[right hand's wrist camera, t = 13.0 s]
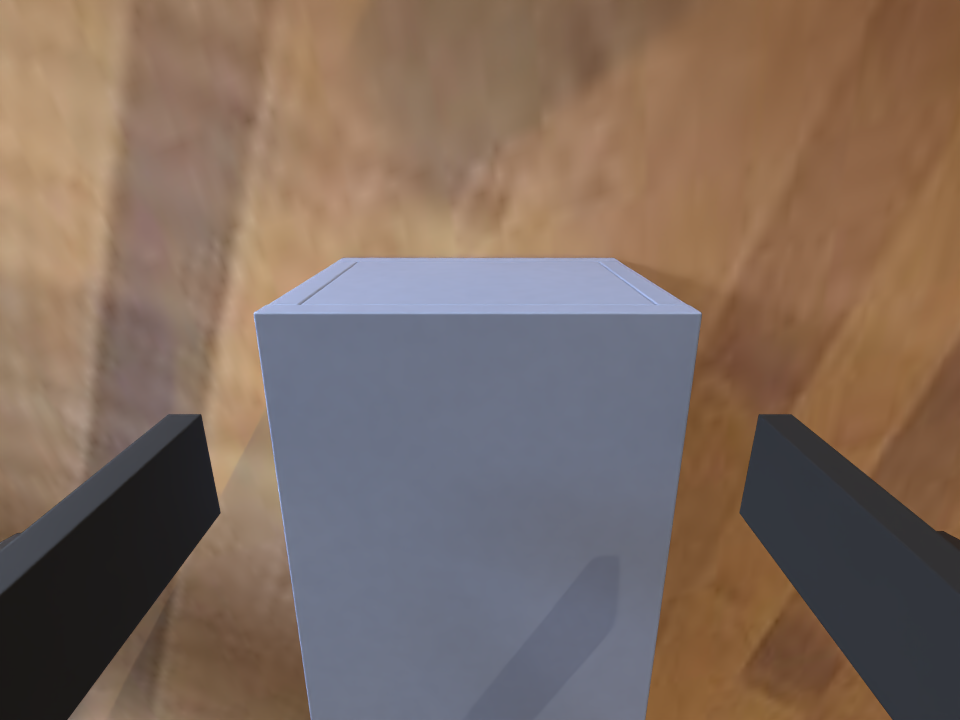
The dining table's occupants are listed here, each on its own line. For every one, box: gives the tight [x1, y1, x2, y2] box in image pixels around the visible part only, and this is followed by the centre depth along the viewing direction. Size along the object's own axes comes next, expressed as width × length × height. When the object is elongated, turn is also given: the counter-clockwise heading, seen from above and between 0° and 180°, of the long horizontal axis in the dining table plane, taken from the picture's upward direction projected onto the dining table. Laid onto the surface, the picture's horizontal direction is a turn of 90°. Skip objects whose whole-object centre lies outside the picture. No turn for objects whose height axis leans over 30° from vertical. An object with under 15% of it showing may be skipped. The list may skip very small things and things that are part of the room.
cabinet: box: [254, 258, 702, 720], centre depth 21 cm, size 19×11×9 cm, turn 0°
